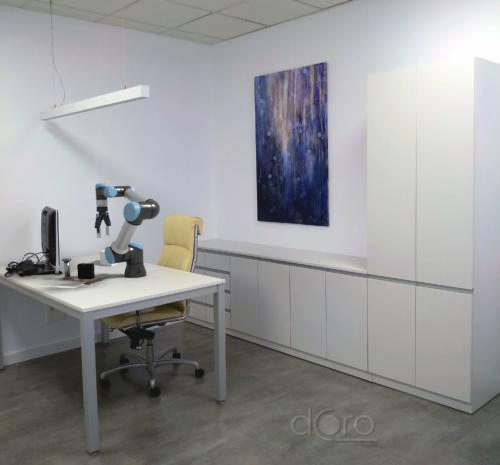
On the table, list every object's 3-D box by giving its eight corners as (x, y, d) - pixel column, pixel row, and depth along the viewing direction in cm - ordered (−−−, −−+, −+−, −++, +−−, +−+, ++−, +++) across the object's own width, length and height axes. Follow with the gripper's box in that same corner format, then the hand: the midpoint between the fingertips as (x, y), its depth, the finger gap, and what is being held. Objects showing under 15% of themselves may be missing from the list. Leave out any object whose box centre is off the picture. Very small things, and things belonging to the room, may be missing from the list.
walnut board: (103, 279, 360) (102, 277, 360) (90, 284, 346) (90, 281, 346) (68, 278, 368) (67, 275, 367) (54, 282, 353) (54, 279, 353)
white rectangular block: (117, 260, 440) (116, 247, 438) (121, 265, 413) (121, 252, 411) (98, 261, 435) (98, 248, 433) (102, 267, 408) (101, 253, 406)
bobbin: (74, 277, 361) (73, 258, 359) (68, 279, 355) (67, 259, 354) (66, 277, 363) (65, 258, 361) (61, 279, 357) (59, 259, 355)
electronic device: (91, 279, 352) (91, 264, 351) (77, 279, 354) (77, 264, 353) (94, 278, 356) (94, 263, 355) (81, 277, 358) (80, 263, 357)
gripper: (105, 204, 384) (106, 234, 386) (88, 207, 360) (90, 238, 362) (114, 204, 382) (116, 234, 385) (98, 207, 358) (100, 238, 360)
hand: (103, 236), depth 373 cm, fingers open, 13 cm apart
